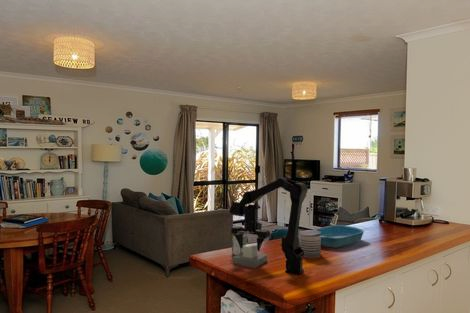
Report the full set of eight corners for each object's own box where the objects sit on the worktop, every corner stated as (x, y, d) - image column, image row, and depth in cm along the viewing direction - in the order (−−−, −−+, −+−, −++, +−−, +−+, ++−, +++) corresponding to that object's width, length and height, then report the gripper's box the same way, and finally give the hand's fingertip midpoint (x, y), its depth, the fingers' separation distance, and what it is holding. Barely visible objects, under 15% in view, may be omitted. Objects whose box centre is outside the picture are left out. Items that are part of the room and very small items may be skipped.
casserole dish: (334, 251, 191) (334, 238, 191) (301, 243, 208) (301, 231, 208) (370, 241, 214) (370, 229, 214) (338, 234, 231) (338, 223, 231)
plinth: (266, 261, 173) (266, 254, 173) (255, 267, 162) (255, 261, 162) (245, 257, 179) (245, 251, 179) (232, 263, 168) (232, 257, 168)
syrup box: (238, 251, 188) (238, 224, 188) (247, 254, 184) (247, 226, 184) (231, 254, 184) (231, 226, 183) (240, 256, 180) (240, 227, 180)
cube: (257, 255, 171) (257, 245, 171) (252, 258, 167) (252, 247, 167) (248, 254, 174) (248, 243, 174) (242, 256, 170) (243, 246, 169)
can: (319, 259, 177) (319, 235, 177) (296, 256, 181) (296, 233, 181) (321, 252, 188) (322, 230, 188) (300, 250, 192) (300, 228, 192)
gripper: (275, 216, 172) (274, 248, 173) (241, 213, 182) (241, 243, 182) (265, 220, 163) (264, 254, 163) (230, 216, 172) (230, 248, 173)
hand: (250, 249), depth 170 cm, fingers open, 9 cm apart
